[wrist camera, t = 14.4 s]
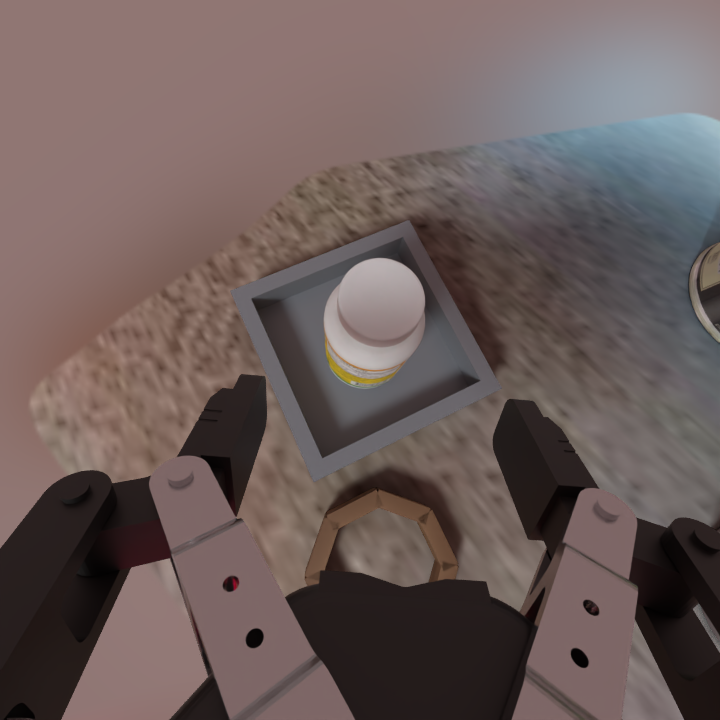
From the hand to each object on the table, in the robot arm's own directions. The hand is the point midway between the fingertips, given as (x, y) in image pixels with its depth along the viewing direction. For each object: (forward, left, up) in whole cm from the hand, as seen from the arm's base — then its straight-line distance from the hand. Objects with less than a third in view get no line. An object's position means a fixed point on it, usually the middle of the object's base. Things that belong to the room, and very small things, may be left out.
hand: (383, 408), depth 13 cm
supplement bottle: (-3, -5, -13) cm, 14 cm away
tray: (-3, -5, -14) cm, 15 cm away
